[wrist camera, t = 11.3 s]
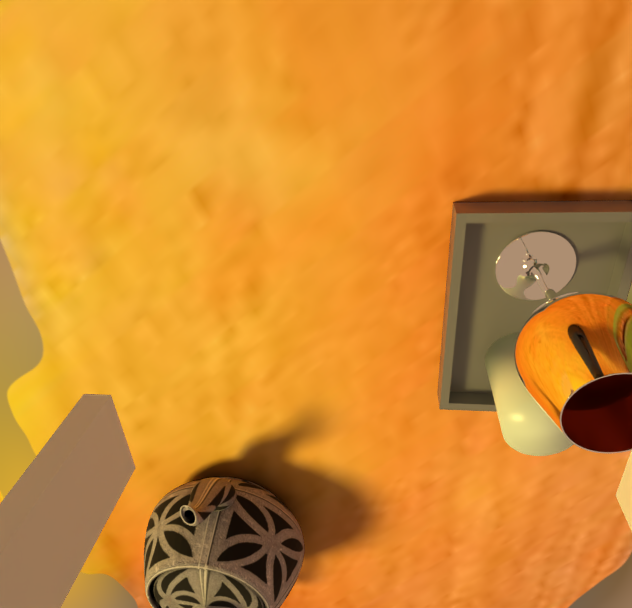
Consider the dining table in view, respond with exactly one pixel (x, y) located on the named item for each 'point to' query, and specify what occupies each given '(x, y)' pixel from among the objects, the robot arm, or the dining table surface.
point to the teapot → (221, 547)
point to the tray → (502, 309)
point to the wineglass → (571, 344)
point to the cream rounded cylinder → (520, 405)
